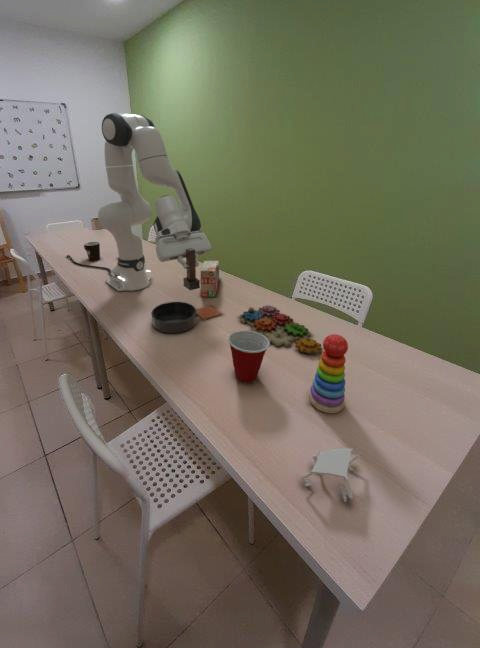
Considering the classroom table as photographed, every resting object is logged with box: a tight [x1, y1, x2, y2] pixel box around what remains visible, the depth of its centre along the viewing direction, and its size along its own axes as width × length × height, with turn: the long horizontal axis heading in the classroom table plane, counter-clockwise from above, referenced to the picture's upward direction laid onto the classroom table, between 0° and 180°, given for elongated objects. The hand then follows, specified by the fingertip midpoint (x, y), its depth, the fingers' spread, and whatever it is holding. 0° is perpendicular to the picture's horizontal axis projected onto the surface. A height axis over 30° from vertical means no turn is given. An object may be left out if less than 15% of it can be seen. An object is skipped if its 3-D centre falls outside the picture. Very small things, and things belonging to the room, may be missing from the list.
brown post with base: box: [183, 248, 201, 291], centre depth 105 cm, size 5×4×14 cm
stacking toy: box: [308, 333, 349, 414], centre depth 69 cm, size 8×8×19 cm
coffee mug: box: [83, 241, 101, 262], centre depth 181 cm, size 12×9×10 cm
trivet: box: [195, 304, 222, 321], centre depth 116 cm, size 8×8×1 cm
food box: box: [200, 260, 220, 298], centre depth 136 cm, size 21×6×12 cm, turn 170°
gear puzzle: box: [239, 305, 323, 355], centre depth 101 cm, size 31×16×4 cm, turn 25°
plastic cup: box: [227, 329, 271, 384], centre depth 80 cm, size 11×11×12 cm
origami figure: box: [299, 447, 360, 503], centre depth 55 cm, size 12×8×5 cm
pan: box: [150, 301, 198, 334], centre depth 109 cm, size 16×16×4 cm
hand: (191, 266), depth 104 cm, fingers closed on brown post with base, 2 cm apart
